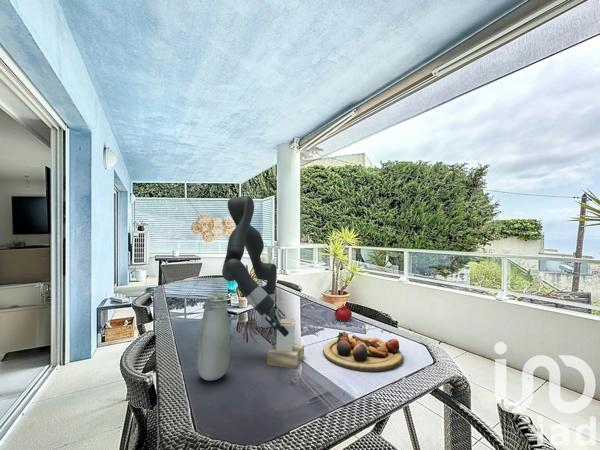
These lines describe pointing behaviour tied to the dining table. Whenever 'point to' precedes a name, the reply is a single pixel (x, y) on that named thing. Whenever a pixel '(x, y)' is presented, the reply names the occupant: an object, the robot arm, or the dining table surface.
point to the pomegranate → (343, 313)
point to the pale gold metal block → (286, 356)
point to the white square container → (287, 341)
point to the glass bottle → (214, 338)
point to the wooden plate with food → (363, 353)
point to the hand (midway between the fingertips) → (288, 331)
